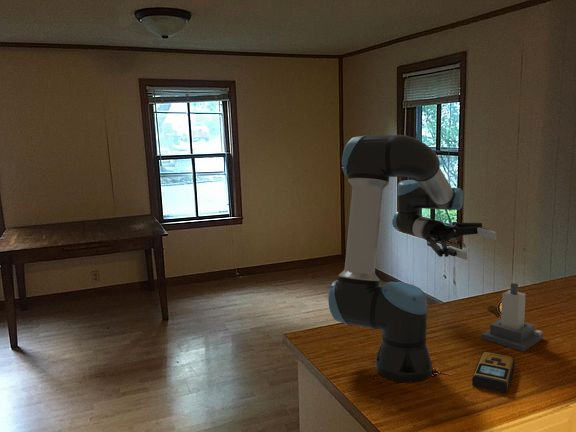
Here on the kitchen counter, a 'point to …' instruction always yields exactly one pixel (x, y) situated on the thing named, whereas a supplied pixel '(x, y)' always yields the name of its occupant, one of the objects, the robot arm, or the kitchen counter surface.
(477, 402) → the kitchen counter surface
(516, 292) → the plug
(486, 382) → the electronic device
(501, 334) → the socket
